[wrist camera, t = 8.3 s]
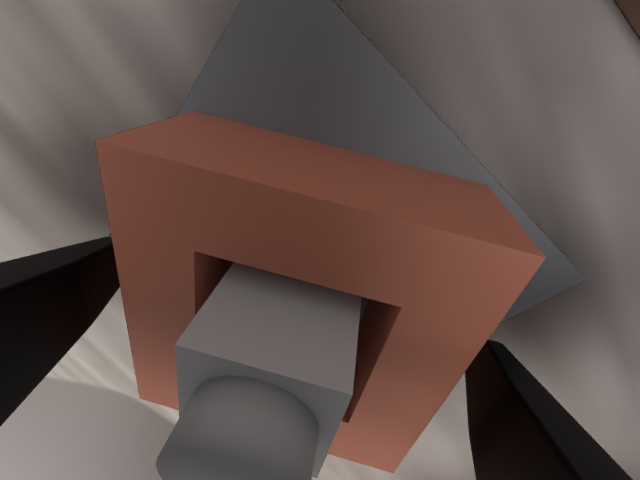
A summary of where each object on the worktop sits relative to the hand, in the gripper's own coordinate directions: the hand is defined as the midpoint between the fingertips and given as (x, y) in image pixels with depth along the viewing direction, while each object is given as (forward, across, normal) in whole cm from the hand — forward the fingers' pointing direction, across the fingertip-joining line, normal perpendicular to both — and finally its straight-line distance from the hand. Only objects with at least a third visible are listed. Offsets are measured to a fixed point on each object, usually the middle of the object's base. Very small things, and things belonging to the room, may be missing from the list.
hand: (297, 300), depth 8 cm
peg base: (+2, 0, 0) cm, 2 cm away
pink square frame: (+2, 0, 0) cm, 2 cm away
